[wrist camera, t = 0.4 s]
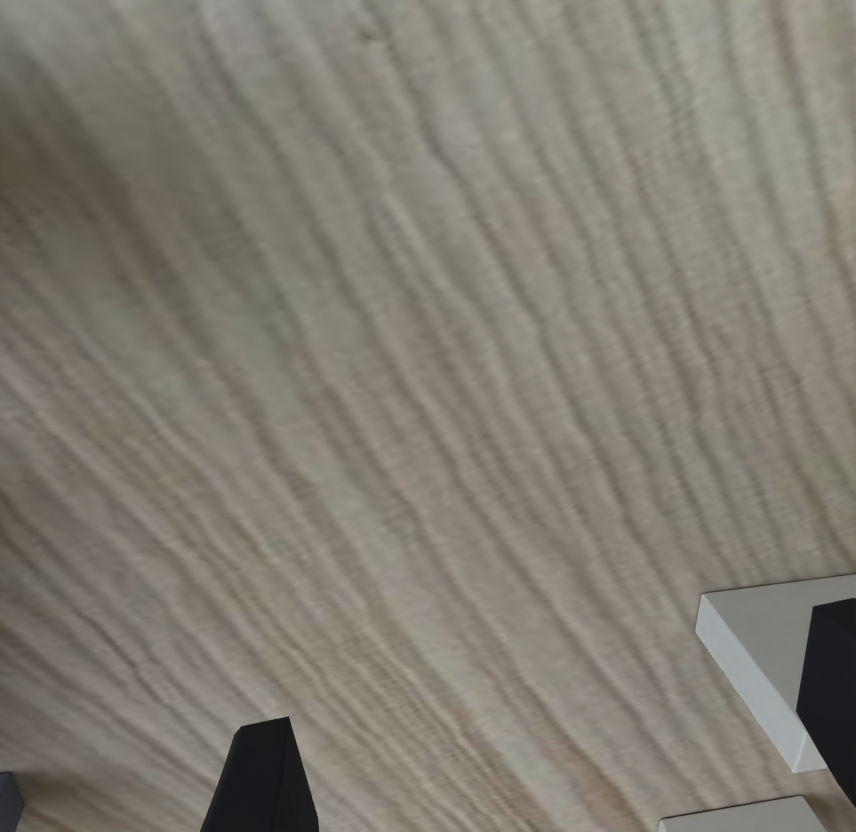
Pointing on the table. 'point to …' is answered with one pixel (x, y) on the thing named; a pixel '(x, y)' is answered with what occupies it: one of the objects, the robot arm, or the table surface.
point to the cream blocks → (766, 688)
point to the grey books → (9, 804)
